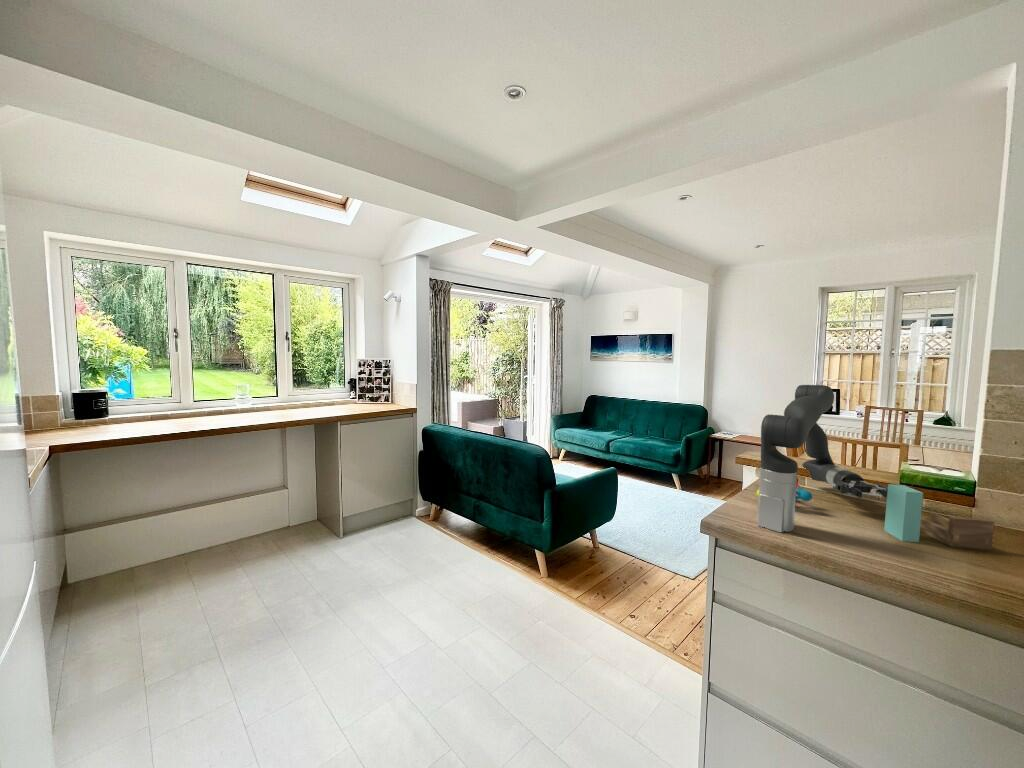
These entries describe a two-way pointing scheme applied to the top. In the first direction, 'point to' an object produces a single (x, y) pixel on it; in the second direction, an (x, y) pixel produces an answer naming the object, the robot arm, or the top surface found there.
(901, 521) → the teal rectangular block
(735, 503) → the top surface
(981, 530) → the brown wooden drawer
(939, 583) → the top surface
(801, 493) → the molecular model
